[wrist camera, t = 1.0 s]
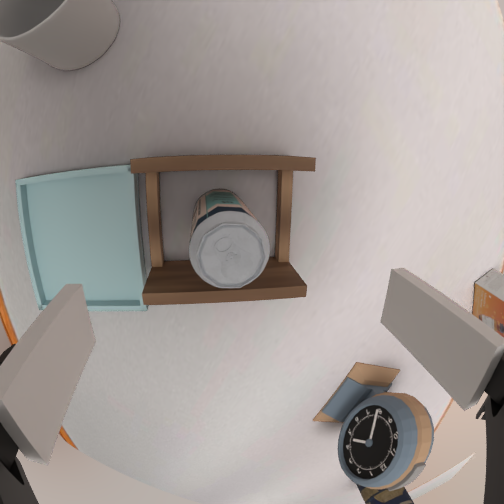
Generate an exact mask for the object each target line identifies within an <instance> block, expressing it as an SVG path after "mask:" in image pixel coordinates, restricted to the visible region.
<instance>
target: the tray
mask: <svg viewBox="0 0 504 504" xmlns="http://www.w3.org/2000/svg"><path fill="white" fill-rule="evenodd" d="M16 193H17V203H18V212H19V219H20V226H21V233H22V239H23V244H24V250H25V255H26V260H27V265H28V269H29V273H30V278H31V282H32V286H33V290H34V293H35V297H36V301H37V304H38V308H39V310H44V309H45V308H46V306H47V305H48V304H49V303H50V302H51V301H52V299H53V298H54V297H55V296H56V295H57V294H58V293H59V291H60V290H61V289H62V288H63V287H64V286H65V285H66V284H82V286H83V291H84V296H85V300H86V304H87V309H88V311H147V310H148V306H149V305H143V298H142V292H143V289H144V286H145V284H146V281H147V280H146V272H145V263H144V254H143V243H142V232H141V220H140V205H139V185H138V173H135V174H131V164H128V165H117V166H106V167H97V168H88V169H80V170H72V171H65V172H58V173H51V174H45V175H39V176H33V177H27V178H22V179H18V180H16Z"/></svg>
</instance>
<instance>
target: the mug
mask: <svg viewBox="0 0 504 504" xmlns="http://www.w3.org/2000/svg"><path fill="white" fill-rule="evenodd" d="M119 25H120V17H119V13H118V10H117V8H116V7H115V5H114V4H113V2H112V1H111V0H0V41H2V42H4V43H6V44H8V45H11V46H13V47H15V48H17V49H19V50H21V51H23V52H25V53H27V54H30V55H32V56H34V57H36V58H38V59H40V60H42V61H44V62H45V63H47V64H49V65H51V66H52V67H54V68H57V69H60V70H75V69H79V68H82V67H85V66H87V65H89V64H91V63H92V62H94V61H95V60H97V59H98V58H99V57H100V56H102V55H103V54H104V53H105V52H106V51H107V49H108V48H109V47H110V46H111V44H112V43H113V41H114V39H115V38H116V35H117V33H118V30H119Z"/></svg>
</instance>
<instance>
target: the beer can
mask: <svg viewBox="0 0 504 504" xmlns="http://www.w3.org/2000/svg"><path fill="white" fill-rule="evenodd" d="M269 254H270V243H269V238H268V235H267V233H266V231H265V229H264V228H263V226H262V225H261V224H260V223H259V221H258V220H257V219H256V218H255V217H254V215H253V214H252V213H251V212H250V210H249V209H248V208H247V207H246V205H245V204H244V203H243V202H242V201H241V199H240V198H239V197H238V196H237V195H236V194H235V193H233V192H231V191H229V190H225V189H215V190H211V191H209V192H207V193H205V194H204V195H203V196H201V197H200V198H199V200H198V201H197V203H196V205H195V208H194V213H193V220H192V228H191V236H190V244H189V257H190V261H191V264H192V266H193V268H194V270H195V272H196V273H197V274H198V275H199V276H200V277H201V278H202V279H203V280H204V281H205V282H207V283H209V284H211V285H213V286H215V287H219V288H241V287H243V286H244V285H247V284H249V283H251V282H252V281H253V280H254V279H256V278H257V277H258V276H259V275H260V274H261V273H262V271H263V270H264V268H265V266H266V264H267V262H268V259H269Z"/></svg>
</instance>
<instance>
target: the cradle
mask: <svg viewBox="0 0 504 504" xmlns="http://www.w3.org/2000/svg"><path fill="white" fill-rule="evenodd" d="M315 161H316V158H311V157H298V156H279V155H187V156H165V157H149V158H139V159H130V162H131V174H135V173H145V174H146V199H147V216H148V230H149V243H150V253H151V263H152V268H151V271H150V273H149V276H148V278H147V281H146V284H145V286H144V289H143V292H142V298H143V305H167V304H196V303H219V302H238V301H255V300H270V299H283V298H296V297H306V291H307V285H306V284H305V282H304V281H303V280H302V278H301V277H300V276H299V274H298V273H297V272H296V271H295V269H294V268H293V267H292V265H291V264H290V263H289V246H290V228H291V207H292V183H293V171H315ZM190 170H278V189H277V218H276V244H275V257H269V259H268V262H267V264H266V266H265V268H264V270H263V271H262V273H261V274H260V275H259V276H258V277H257V278H256V279H254V280H253V281H252V282H251V283H249V284H247V285H244V286H243V287H241V288H219V287H215V286H213V285H211V284H209V283H207V282H205V281H204V280H203V279H202V278H201V277H200V276H199V275H198V274H197V273H196V272H195V270H194V268H193V266H192V264H191V261H190V260H181V261H164V255H163V242H162V228H161V210H160V187H159V172H167V171H190Z"/></svg>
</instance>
